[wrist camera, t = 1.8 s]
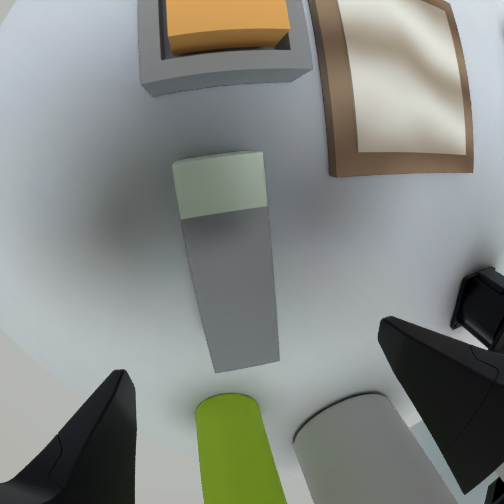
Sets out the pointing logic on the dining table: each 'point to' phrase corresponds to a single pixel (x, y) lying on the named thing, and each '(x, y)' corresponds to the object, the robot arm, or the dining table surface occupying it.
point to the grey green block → (230, 255)
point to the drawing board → (393, 87)
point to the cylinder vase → (366, 457)
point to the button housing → (217, 56)
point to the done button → (225, 24)
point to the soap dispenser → (235, 453)
